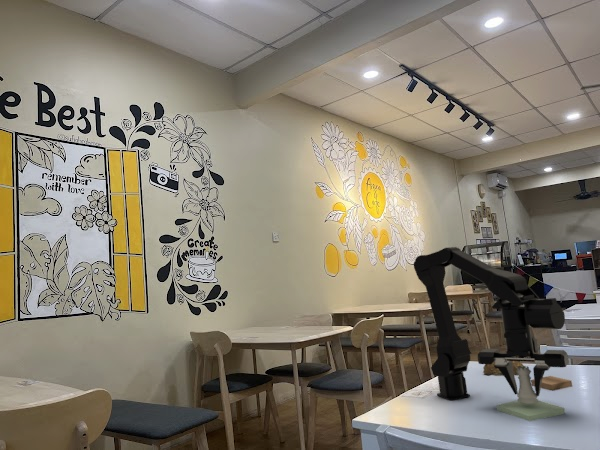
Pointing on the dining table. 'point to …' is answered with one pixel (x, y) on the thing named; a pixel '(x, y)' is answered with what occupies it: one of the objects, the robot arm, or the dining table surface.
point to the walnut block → (554, 383)
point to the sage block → (531, 410)
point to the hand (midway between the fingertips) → (527, 394)
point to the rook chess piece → (525, 387)
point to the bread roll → (495, 371)
